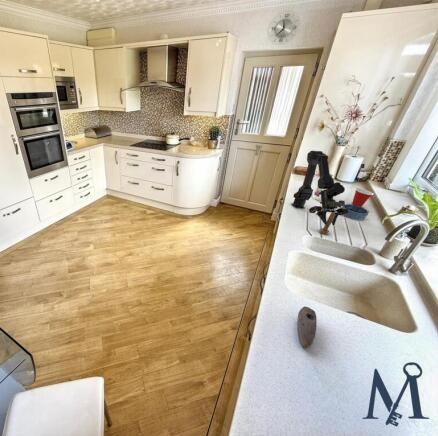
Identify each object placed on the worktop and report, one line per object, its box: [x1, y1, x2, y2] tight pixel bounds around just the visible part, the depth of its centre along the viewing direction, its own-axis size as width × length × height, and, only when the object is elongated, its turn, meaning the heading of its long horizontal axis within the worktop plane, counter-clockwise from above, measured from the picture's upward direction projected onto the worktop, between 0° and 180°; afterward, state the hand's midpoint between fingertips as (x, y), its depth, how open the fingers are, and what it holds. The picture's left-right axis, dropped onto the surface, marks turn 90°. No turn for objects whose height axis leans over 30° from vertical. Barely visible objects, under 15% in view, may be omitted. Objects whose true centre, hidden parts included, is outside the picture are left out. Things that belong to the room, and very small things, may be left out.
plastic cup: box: [351, 187, 375, 207], centre depth 172 cm, size 11×11×12 cm
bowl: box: [341, 203, 370, 221], centre depth 159 cm, size 14×14×5 cm
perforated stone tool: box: [296, 305, 318, 350], centre depth 79 cm, size 15×5×7 cm, turn 147°
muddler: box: [318, 212, 335, 236], centre depth 136 cm, size 4×4×13 cm
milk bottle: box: [312, 173, 334, 201], centre depth 178 cm, size 8×8×20 cm
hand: (329, 224), depth 135 cm, fingers open, 4 cm apart
